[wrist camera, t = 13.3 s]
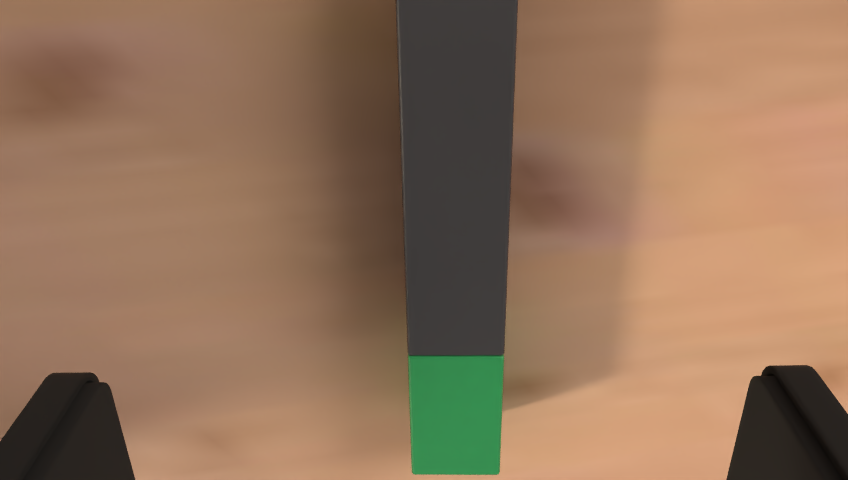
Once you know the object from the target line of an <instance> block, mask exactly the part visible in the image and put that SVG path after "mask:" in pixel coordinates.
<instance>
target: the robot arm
mask: <svg viewBox="0 0 848 480" xmlns="http://www.w3.org/2000/svg"><path fill="white" fill-rule="evenodd" d="M0 480H135V477H134V474H133V470H132V466H131V462H130V459H129V455H128V451H127V448H126V444H125V440H124V437H123V433H122V429H121V425H120V422H119V418H118V414H117V411H116V407H115V403H114V400H113V396H112V392H111V389H110V387H109V385H108V384H107V383H104V382H99V380H98V378H97V376H96V375H95V374H93V373H52V374H50V375H48V376H47V377H46V378H45V380H44V381H43V382H42V384H41V385H40V387H39V388H38V389H37V391H36V392H35V394H34V395H33V396H32V398H31V399H30V401H29V402H28V403H27V405H26V406H25V408H24V409H23V410H22V412H21V413H20V415H19V416H18V417H17V419H16V420H15V422H14V423H13V424H12V426H11V427H10V429H9V430H8V431H7V433H6V434H5V436H4V437H3V438H2V440H1V441H0ZM727 480H848V414H847V413H846V411H845V410H844V408H843V407H842V406H841V404H840V403H839V402H838V400H837V399H836V398H835V396H834V395H833V394H832V392H831V391H830V389H829V388H828V387H827V385H826V384H825V383H824V381H823V380H822V379H821V377H820V376H819V375H818V373H817V372H816V371H815V370H814V369H813V368H812V367H810V366H807V365H793V366H768V367H766V368H765V369H764V370H763V372H762V375H761V376H754V377H753V378H752V379H751V381H750V384H749V388H748V392H747V396H746V400H745V405H744V409H743V413H742V417H741V421H740V425H739V430H738V434H737V438H736V442H735V446H734V451H733V455H732V459H731V463H730V467H729V471H728V476H727Z"/></svg>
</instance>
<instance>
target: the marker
mask: <svg viewBox="0 0 848 480" xmlns="http://www.w3.org/2000/svg"><path fill="white" fill-rule="evenodd" d="M517 12H518V0H396V23H397V52H398V82H399V111H400V140H401V169H402V198H403V227H404V256H405V285H406V314H407V343H408V372H409V401H410V430H411V459H412V473H413V474H446V475H497V474H499V472H500V448H501V422H502V397H503V371H504V346H505V320H506V294H507V269H508V243H509V217H510V192H511V166H512V140H513V115H514V89H515V63H516V38H517Z"/></svg>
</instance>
